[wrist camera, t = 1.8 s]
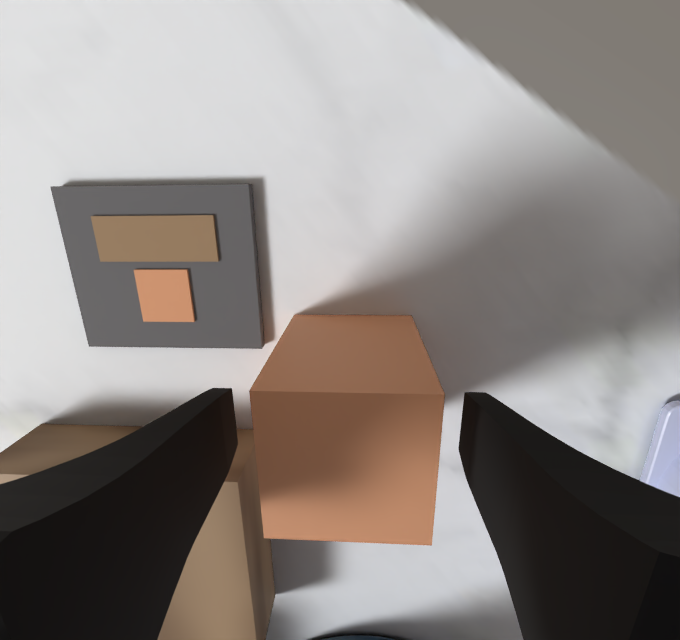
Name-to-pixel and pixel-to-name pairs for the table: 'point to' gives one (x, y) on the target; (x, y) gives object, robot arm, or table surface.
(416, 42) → the table surface
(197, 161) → the table surface
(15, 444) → the walnut base
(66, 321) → the table surface
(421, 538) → the rust block
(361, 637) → the canister
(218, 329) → the card
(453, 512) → the table surface
